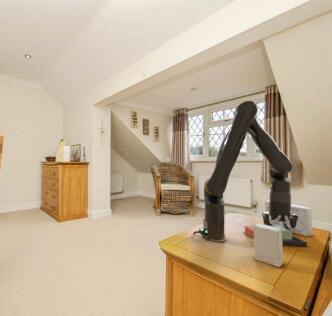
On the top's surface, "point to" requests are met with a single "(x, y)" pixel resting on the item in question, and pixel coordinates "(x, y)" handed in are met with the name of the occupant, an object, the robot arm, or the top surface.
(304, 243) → the frame
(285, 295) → the top surface
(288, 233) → the sage pad
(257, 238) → the cosmetic box
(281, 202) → the robot arm
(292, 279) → the top surface
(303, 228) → the skincare box
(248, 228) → the terracotta pad
